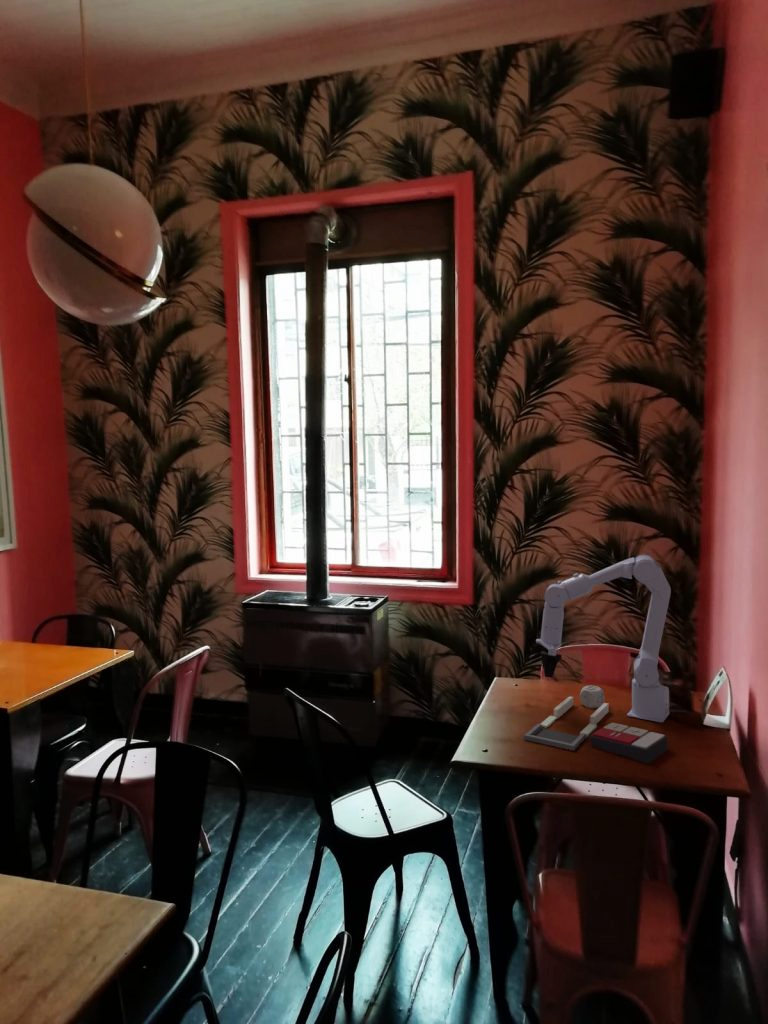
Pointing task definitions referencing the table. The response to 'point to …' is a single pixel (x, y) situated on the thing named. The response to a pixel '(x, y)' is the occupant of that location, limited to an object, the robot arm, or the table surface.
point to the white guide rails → (593, 718)
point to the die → (592, 696)
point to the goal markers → (586, 730)
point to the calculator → (630, 742)
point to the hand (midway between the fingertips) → (547, 672)
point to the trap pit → (554, 738)
